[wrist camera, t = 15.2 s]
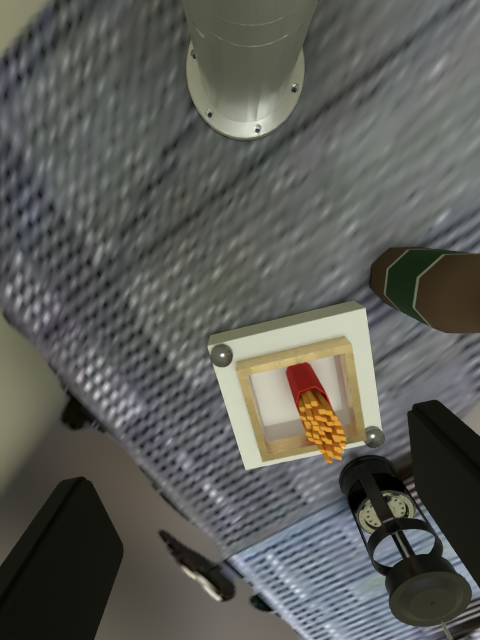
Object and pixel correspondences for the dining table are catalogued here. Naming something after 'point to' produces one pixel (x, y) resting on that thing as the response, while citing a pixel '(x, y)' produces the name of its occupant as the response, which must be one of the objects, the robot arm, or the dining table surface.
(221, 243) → the dining table surface
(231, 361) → the gold-rimmed square tray
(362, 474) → the french press
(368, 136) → the dining table surface
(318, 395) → the french fries
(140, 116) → the dining table surface
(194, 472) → the dining table surface
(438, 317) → the beer bottle
